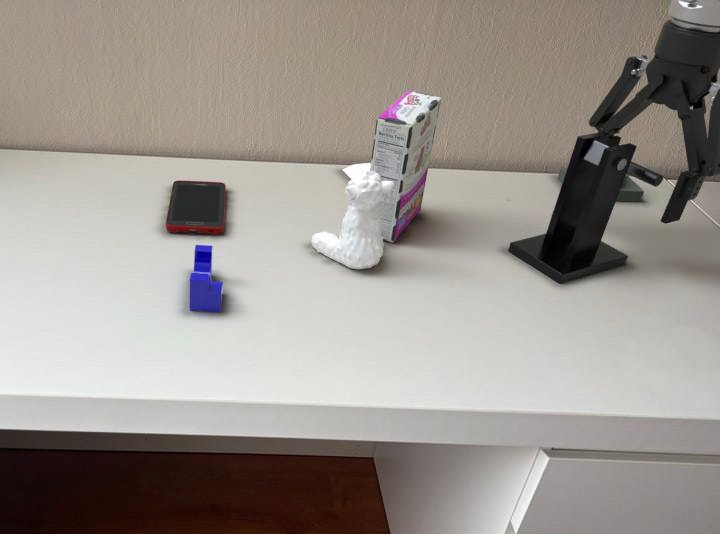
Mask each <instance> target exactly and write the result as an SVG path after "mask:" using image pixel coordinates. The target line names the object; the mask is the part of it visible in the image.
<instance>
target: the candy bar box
mask: <svg viewBox="0 0 720 534" xmlns="http://www.w3.org/2000/svg"><path fill="white" fill-rule="evenodd" d="M441 102H442V97H441V96H435V95H430V94H427V93H423V92H420V93H419V92H418V91H411V90H410V91H409V90H408V91H406V92H404V93H403V95H401V96H400V97H399V98H397V100H395V101H394V102H393V103H392V104H391V105H390V106H388V107H387V108H386V109H385V110H384V111H382V112H381V113H380V114H379V115H377V117H376V122H375V129H374V136H373V137H374V138H373V143H372V144H373V145H372V151H371V159H370V163H371V166H370V171H371V170H372V171H375V172H376V173H378V174H379V175H380V176H381V181H393V183H394V185H393V188H392V190H391V191H390V192H387V193H383V196H382V200H381V201H380V202H379V203H378V205H376V207H377V209H378V212H379V213H380V219H381V229H380V230H381V232H382V233H381V236H382V237H383V242H388V243H391V244H393V243H395V241H396V240H397V239H398V238H399V236H401V234H402V233H403V232H404V231H405V229H406V228H407V227H408V226H409V225H410V224H411V222H413V220H414V219H415V218H416V216H417V215H418V214H419V213H420V212H421V210H422V204H423V198H424V193H425V187H426V181H427V177H428V171H429V166H430V161H431V155H432V150H433V144H434V139H435V133H436V129H437V122H438V118H439V111H440V107H441Z"/></svg>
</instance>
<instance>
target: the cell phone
mask: <svg viewBox="0 0 720 534" xmlns="http://www.w3.org/2000/svg"><path fill="white" fill-rule="evenodd" d="M226 192H227V186H226V183H224V182H221V181H204V180H203V181H201V180H181V179H180V180H175V181H173V183H172V187H171V192H170V197H169V203H168V209H167V214H166V220H165V230H166V231H168V232H173V233H198V234H214V235H215V234H222V233H223V232H224V230H225V219H226V217H225V216H226V215H225V214H226Z"/></svg>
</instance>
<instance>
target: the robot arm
mask: <svg viewBox="0 0 720 534" xmlns="http://www.w3.org/2000/svg"><path fill="white" fill-rule="evenodd" d="M667 14H668V16H669V18H671V19H667V20H666V21H665V22H664V23H663V24H662V27H661V29H660V33H659V35H658V38H657V42H656V43H655V46H654V49H653V52H654V56H653V58H651V59H648V56H647V55H645V54H642V55H634V56H628V57H627V58H626V60H625V64H624V66H623V69H622V72H621V74H620V76H619V77H618V79H617V80H616V81H615V83H614V84H613V86H612V87H611V88H610V90H609V91H608V93H607V94H606V96H605V97H604V98H603V100H602V101H601V103H600V104H599V106H598V107H597V108H596V110H595V111H594V113H593V114H592V116H591V117H590V119H589V120H588V125H589V126H590V127H591V128H594V129H596V131H597V133H599V132H605V133H607V134H609V137H608V140H607V143H606V145H607V146H609V147H613V146H618V145H620V144H621V140H622V136H619V135H617V134H620V133H621V130H623V128H625V127H626V126H627V125H628V124H629V123H631V122H632V121H633V120H634V119H636V118H637V117H638V116H639V115H640V114H641V113H642V112H644V111H645V110H646V109H647V108H648V107H650V106H651V105H652V104H656V105H664V106H665V107H667V108H668V109H670V110H672V111H676V112H677V113H676V114H677V117H678V119H679V120H680V121H681V127H682V134H683V142H684V148H685V154H686V161H687V168H688V170H686V171H684V170H683V171H681V172H680V173H679V176H678V178H677V181H676V183H675V185H674V187H673V190H672V192H671V195H670V198H669V200H668V201H667V204H666V207H665V209H664V210H663V214H662V216H661V217H660V218H661V219H660V222H661V223H662V224H664V225H666V224H670V223H675V222H677V221H680V220H681V217H682V215H683V213H684V211H685V208H686V206H687V204H688V202H689V201H693V200H695V199H696V198H697V197H698V195H699V193H700V191H701V188H702V186H703V184H704V182H705V180H706V177H709V178H710V177H715V176H719V175H720V82H718V80H719V79H718V73H719V70H720V0H671V3H670V6H669V8H668V11H667ZM645 74H646V80H647V84H646V85H644V87H642V88H641V89H640V90H638V92H637V93H635V95H634V97H633V98H632V99H631V100H630V101H629V102H628V103H627V104H625V105H624V106H623V107H622V108H621V106H622V104H624V102H625V101H626V100H627V98H628V96H629V95H630V94H631V93H632V91H633V90H634V89H635V87H636V86H637V85H638V83H639V81H640V80H641V79H642V77H643V76H645ZM709 94H710V95H711V97H710V98H709V102H710V103H711V107H710V110H709V117H708V119H709V120H708V130H707V125H706V124H707V123H706V118H705V114H706V113H707V106H706V105H707V104H706V99H705V97H706V96H708V95H709ZM691 107H692V109H691Z"/></svg>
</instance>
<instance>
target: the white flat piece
mask: <svg viewBox="0 0 720 534" xmlns="http://www.w3.org/2000/svg"><path fill="white" fill-rule="evenodd" d="M370 166H371V162H367V163H365V162H363V163H354V164H351V165H348V166H347V167H345V168H343V169H342V172H343V173H344V174H346V176H347V177H348V178H349V179H350V180H352V179H353V178H354V177H355V176H356V174H357V173H358V172H362V171H367V170H368V171H370Z"/></svg>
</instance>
